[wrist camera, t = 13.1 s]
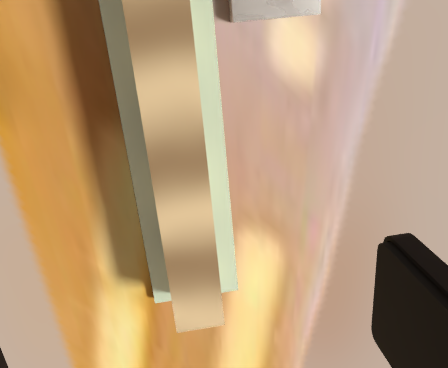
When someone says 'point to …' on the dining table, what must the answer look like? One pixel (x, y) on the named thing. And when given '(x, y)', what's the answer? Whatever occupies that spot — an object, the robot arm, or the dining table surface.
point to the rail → (176, 155)
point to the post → (271, 9)
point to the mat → (137, 147)
